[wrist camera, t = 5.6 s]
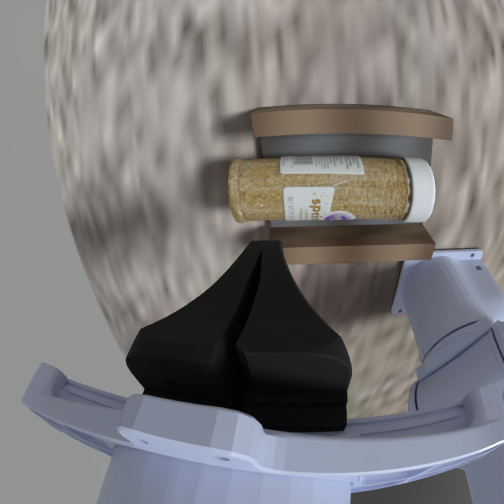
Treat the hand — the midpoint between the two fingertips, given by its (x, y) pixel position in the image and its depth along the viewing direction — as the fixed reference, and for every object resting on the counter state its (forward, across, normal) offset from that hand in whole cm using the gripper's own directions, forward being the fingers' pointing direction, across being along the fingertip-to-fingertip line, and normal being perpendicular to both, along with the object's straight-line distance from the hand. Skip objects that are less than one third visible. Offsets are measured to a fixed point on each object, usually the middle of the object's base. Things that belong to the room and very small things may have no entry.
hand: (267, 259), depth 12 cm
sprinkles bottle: (+8, +3, 0) cm, 8 cm away
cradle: (+10, -6, 0) cm, 12 cm away
